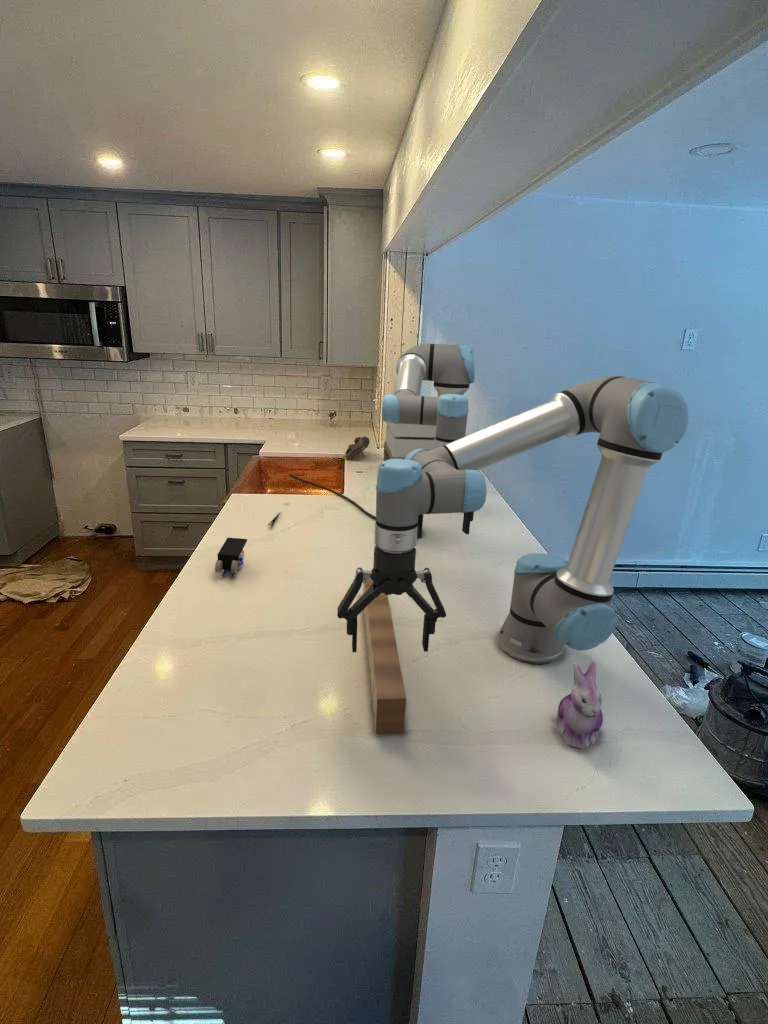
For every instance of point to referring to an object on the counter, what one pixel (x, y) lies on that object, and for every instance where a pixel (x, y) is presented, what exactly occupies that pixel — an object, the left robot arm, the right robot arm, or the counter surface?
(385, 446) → the grey slatted crate
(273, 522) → the feather
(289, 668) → the counter surface
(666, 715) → the counter surface
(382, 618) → the bar
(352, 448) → the fossil
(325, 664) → the counter surface
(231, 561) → the black boxy wheeled piece
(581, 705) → the figurine
